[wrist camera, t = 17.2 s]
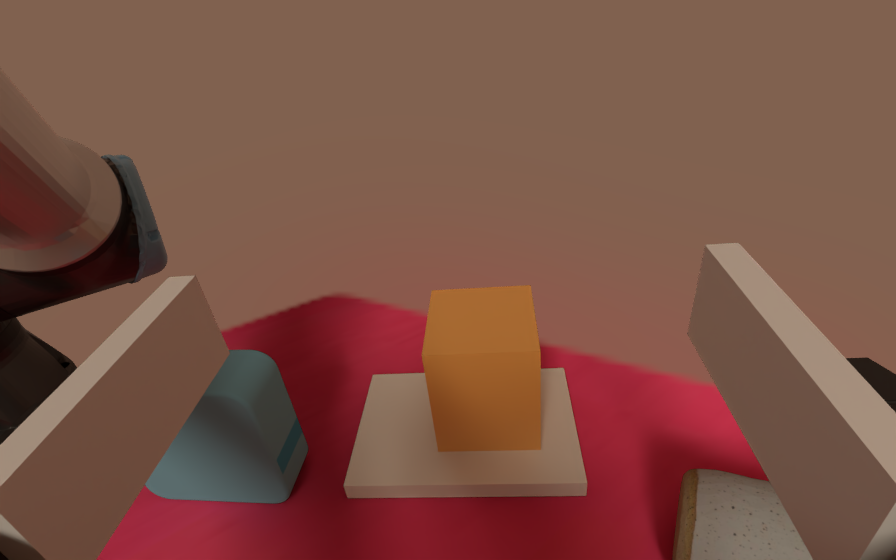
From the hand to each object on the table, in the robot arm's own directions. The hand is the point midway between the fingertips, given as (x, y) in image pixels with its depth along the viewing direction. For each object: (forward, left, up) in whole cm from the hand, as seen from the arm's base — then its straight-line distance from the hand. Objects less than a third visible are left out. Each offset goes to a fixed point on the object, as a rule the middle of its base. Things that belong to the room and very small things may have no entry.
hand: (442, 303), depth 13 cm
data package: (-21, +14, -26) cm, 36 cm away
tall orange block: (0, +19, -24) cm, 31 cm away
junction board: (-2, +18, -26) cm, 32 cm away
